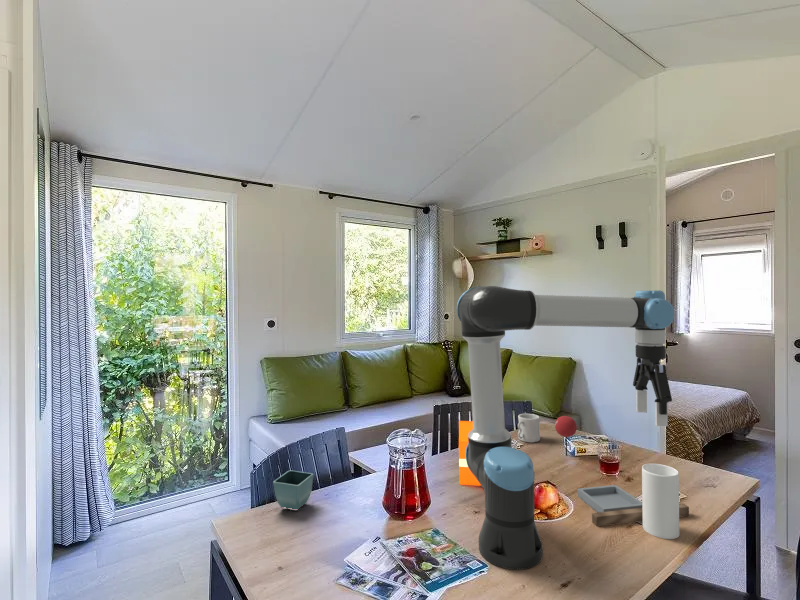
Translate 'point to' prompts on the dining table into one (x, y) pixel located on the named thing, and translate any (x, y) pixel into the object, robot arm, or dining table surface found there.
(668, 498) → the cup
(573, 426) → the lollipop
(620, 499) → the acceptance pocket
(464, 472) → the orange juice
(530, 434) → the mug
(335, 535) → the dining table surface
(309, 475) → the flower pot
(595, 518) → the door edge rail
